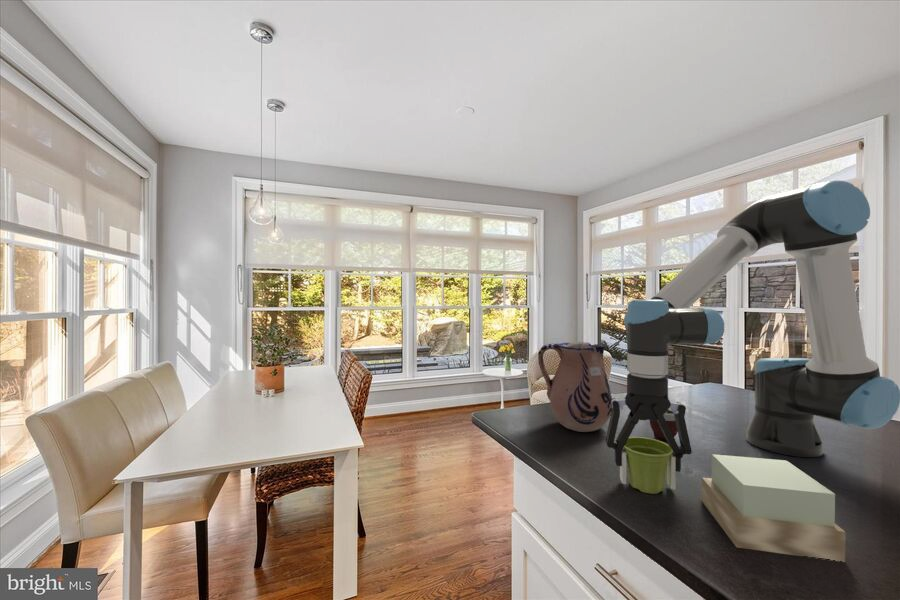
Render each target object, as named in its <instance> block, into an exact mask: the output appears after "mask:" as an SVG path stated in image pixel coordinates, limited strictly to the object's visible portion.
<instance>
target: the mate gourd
mask: <svg viewBox="0 0 900 600" xmlns="http://www.w3.org/2000/svg"><path fill="white" fill-rule="evenodd" d="M663 416H664V418H665V420H666V422H667V425H668V427H669V429H670V431H671V433H672V435H673V437H674V439H675V440H676V438H675V437H676V436H677V435H678V431H677V426H676V421H675V417H674V413H673V412H672V410H671V409H668V410H667V411H666V412H665V414H664V415H663ZM649 424H650V427H651V430H652V432H653V436H654V439H655V440H658V441H661V442H664V443H666V444H668V442H667V440H666V438H665V436H664V434H663V432H662V430H661V428H660V426H659V424H658V422H657V421H651V420H649Z"/></svg>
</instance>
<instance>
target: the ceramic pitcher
mask: <svg viewBox="0 0 900 600" xmlns="http://www.w3.org/2000/svg"><path fill="white" fill-rule="evenodd" d="M605 348H606V347H605V345H601V344H591V342H584V341H579V342H570V341H569V342H561V343H546V344H544V345H542V346H541V348H540V349H539V351H538V354H537V356H538V357H537V358H538V365H539V368H540V369H539V370H540V371H541V374H542V376H543V379H544V381H545V383H546V386H547V388H546V389H547V390H546V395H547V398H548V400H549V402H550V403H549V404H550V408H551V411H552V414H553V416H554V418H555V419H556V421H557V422H558V423H559V424H560V425H562V426H563V427H565V428H566V429H568V430H571V431H574V432H579V433H589V432H596V431H597V430H600V429H601V428H603V426H605V425H606V424H607V422H609V421H610V416H611V412H612V406H611V399H612V398H613V396H612V392H611V387H610V384H609V380H608V375H607V373H606V369H605V363H604V362H605V361H604V352H605ZM549 350H554V351H555V352H556V353H557V354H558V357H559V358H560V359H559V363H558V366H557V369H556V371H555V374H554V376H553V377H552V378H551V377H550V375H549V372H548V370H547V368H546V366H545V362H544V354H545V353H546V351H549Z"/></svg>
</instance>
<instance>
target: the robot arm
mask: <svg viewBox="0 0 900 600" xmlns="http://www.w3.org/2000/svg"><path fill="white" fill-rule="evenodd" d="M870 216H871V208H870V204H869V201H868V199H867V196H866V194H864V192H863V190H861V189H860V188H859V187H858V186H855V185H854V184H853V183H850V182H848V181H845V180H830V181H825V182H819V183H818V182H817V183H813V184H810V185H808V186H804V187H800V188H796V189H793V190H788V191H785V192H781V193H778V194H773V195H769V196H766V197H763V198H761V199H760V200H759V199H758V200H757V201H756V202H754V203H752V204H750V205H749V206H747V207H746V208H744V209H743V210H742V211H741V212H739V213H738V214H736V216H734V217H733V218H731V219H730V220H729V221H728V222H727V223H726V224H724V226H722V227H721V228H720V229H719V230H718V231H717V234H716V239H714V241H712V242H711V243H710V244H709V245H708V246H707V247H706V248H705V249H704V250H703V251H701V253H699V254H698V255H697V256H696V257H695V258H694V259H693V260H691V262H690V263H688V264H687V265H686V266H685V267H684V268H683V269H682V270H681V271H680V272H678V273H677V274H676V275H675V276H674V277H673V278H672V279H670V280H669V282H667V283H666V284H665V285H664V286H663V287H662V288H660V290H659V291H657V293H655V295H653V296H652V297H651V298H650V299H632V300H630V301H629V302H628V304H627V310H626V312H625V314H624V319H623V323H624V327H625V328H626V337H627V339H626V341H627V344H626V346H627V347H626V348H627V349H626V353H627V356H626V357H627V358H626V359H627V360H626V361H627V363H626V371H627V372H629V373H628V374H627V375H626V396H625V397H624V398H619V399H618V398H614V397H612V399H611V406H612V412H611V416H610V418H609V420H608V427H607V431H606V435H605V443H606V446H607V447H608V448H611V449H613V450H614V462H615V465H616V466H617V467H619V479H620V481H621V482H620V483H621V484H623V485H627V458H626V452H625V450H624V446H625V444H626V442H627V440H628V438H630V436H631V435H632V432H633V431H634V429H635V427H636V425H637V424H638V423H639V421H647V420H648V421H650V420H651V421H657V422H658V424H659V426H660V428H661V430H662V432H663V434H664V436H665V438H666V440H667V442H668V443H667V444H668V445H669V446H670V447H671V448H672V450H673V453H672V454H671V455H670V459H669V460H668V464H667V469H666V484H667V485H668V486H669V488H670V489H671V490H676V472H677V473H680V472H681V469H682V460H681V459H682V458H683V457H684V455H692V453H693V452H692V451H693V450H692V446H691V442H690V437H689V433H688V432H689V431H688V427H687V422H686V418H685V417H686V416H685V415H686V410H687V408H686V406H685V405H684V404H683V403H682V402H680V401H677V402H673V401H670V399H669V378H668V377H667V375H668V374H669V346H672V345H673V346H674V345H700V346H703V345H710V344H715V343H716V342H718V341H720V340H721V339H722V337H723V335H724V333H725V320H724V319H723V317H722V315H721V314H720V313H719V312H718V311H717V310H716V309H712V308H703V307H696V308H692V306H693V305H694V304H695V303H697V301H699V300H700V299H701V298H702V297H703V296H704V295H705V294H706V293H707V292H708V291H709V290H710V289H711V288H712V287H713V286H715V285H716V284H717V283H718V282H719V281H720V280H721V279H722V278H724V276H725V275H727V274H728V273H729V272H730V271H731V270H732V269H733V268H734V267H735V266H736V265H737V264H738V263H740V261H742V260H743V259H744V258H749V257H751V256H752V257H753V255H754V254H756V253H757V252H758V251H759V250H761V249H763V248H765V247H767V246H771V245H775V244H781V243H783V247H784V252H785V253H787V254H789V255H790V256H792V257H794V259H795V263H796V270H797V274H798V281H799V285H800V292H801V298H802V303H803V308H804V309H803V310H804V316H805V321H806V328H807V334H808V338H809V343H810V350H811V355H812V357H811V358H807V357H805V358H804V357H768V358H767V357H766V358H765V357H763V358H759V359H758V360H756V362H755V368H754V369H755V370H754V373H753V374H754V413H753V415H752V418H751V420H750V422H749V424H748V426H747V429H746V438H745V439H746V441H747V442H749V444H752V445H754V446H755V447H757V448H760V449H762V450H766V451H769V452H773V453H777V454H780V455H786V456H791V457H799V458H818V457H821V456H823V454H824V445H823V444H824V443H823V441H822V439H821V437H820V436H821V435H820V434H819V431H818V429H817V426H816V423H815V420H814V416H815V417H820V418H823V419H826V420H830V421H834V422H837V423H840V424H843V425H845V426H848V427H856V428H861V429H865V430H874V429H878V428H881V427H883V426H885V425H886V424H888V423H889V422H890V421H891V420H892V419H893V417H895V415H896V414H897V411H898V409H899V407H900V387H899V386H898V384H897V383H896V382H895V381H894V380H892V379H890V378H888V377H886V376H881V374H880V368H879V367H880V366H879V364H878V363H877V362H876V361H874V360H872V359H871V358H869V357H868V356H867V352H866V351H867V350H866V346H865V339H864V334H863V329H862V322H861V316H860V310H859V304H858V299H857V292H856V285H855V280H854V274H853V268H852V267H853V266H852V262H851V257H850V249H851V247H852V246H853V245H854V244H855V243H857V242H858V235H857V233H859V232H861V231H863V230H864V229H865V228H866V226H867V225H868V223H869V221H868V220H869V219H870ZM624 406H627V408H628V409H629V412H628V415H627V419H626V421H625V422H624V424H623V426H622V428H621V430H620V431H619V434H618V436H617V438H616V434H617V429H618V425H619V422H620V415H621V411H623V409H624ZM667 410H671V411H672V412H673V413H674V417H675V421H676V426H677V431H678V433H677V436H678V440H679V445H678V443H677V441H676V438H675V437H673V435H672V433H671V431H670V429H669V427H668V425H667V422H666V420H665V418H664V416H663V415H664V414H665V412H666V411H667ZM615 438H616V440H615ZM674 438H675V439H674Z"/></svg>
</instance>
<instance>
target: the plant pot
mask: <svg viewBox="0 0 900 600" xmlns="http://www.w3.org/2000/svg"><path fill="white" fill-rule="evenodd" d="M624 450H625V452H626V465H627V471H628V479H629V485H630V486H631V487H632V488H634V489H637V490H639V491H640V492H641V493H645V494H653V495H654V494H655V495H656V494H659V493H660V492H663V491H664V486H665V480H666V476H667V464H668V460H669V459H670V455H671V454H672V453H673V450H672V448H671V447H670V446H669V444H668V443H666V442H661V441H658V440H655V438H654V439H653V438H650V437H644V436H643V437H642V436H631V437H630V436H629V438H628V440H627V442H626V444H625V446H624Z"/></svg>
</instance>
